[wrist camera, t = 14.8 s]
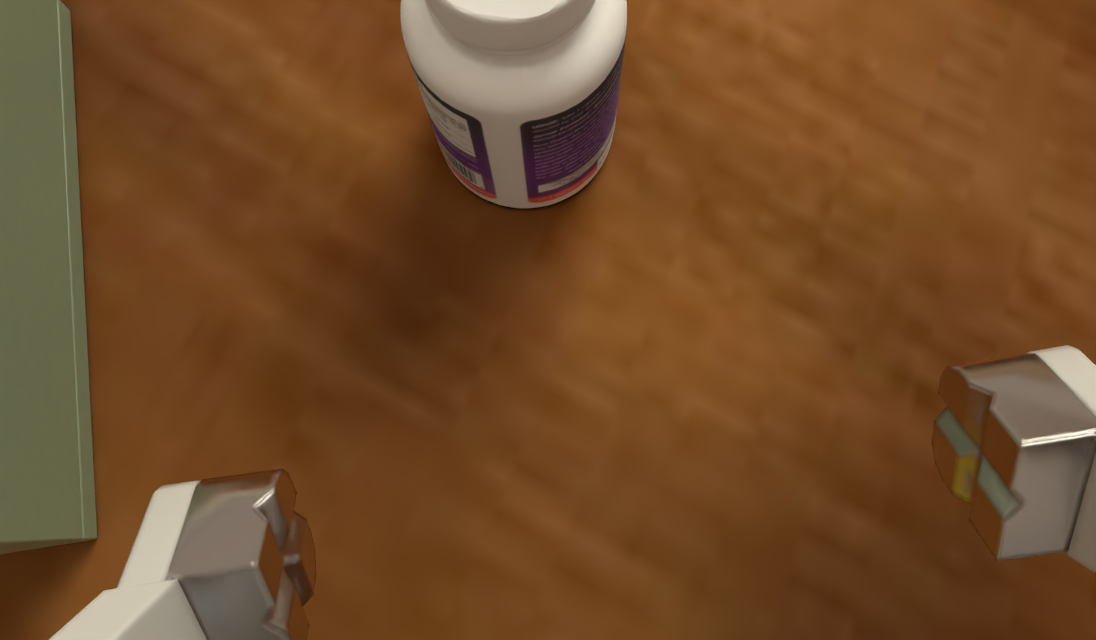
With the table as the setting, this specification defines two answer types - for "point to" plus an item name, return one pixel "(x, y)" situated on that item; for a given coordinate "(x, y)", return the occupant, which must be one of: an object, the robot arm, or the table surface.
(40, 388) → the cabinet
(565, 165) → the pill bottle
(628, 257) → the table surface
